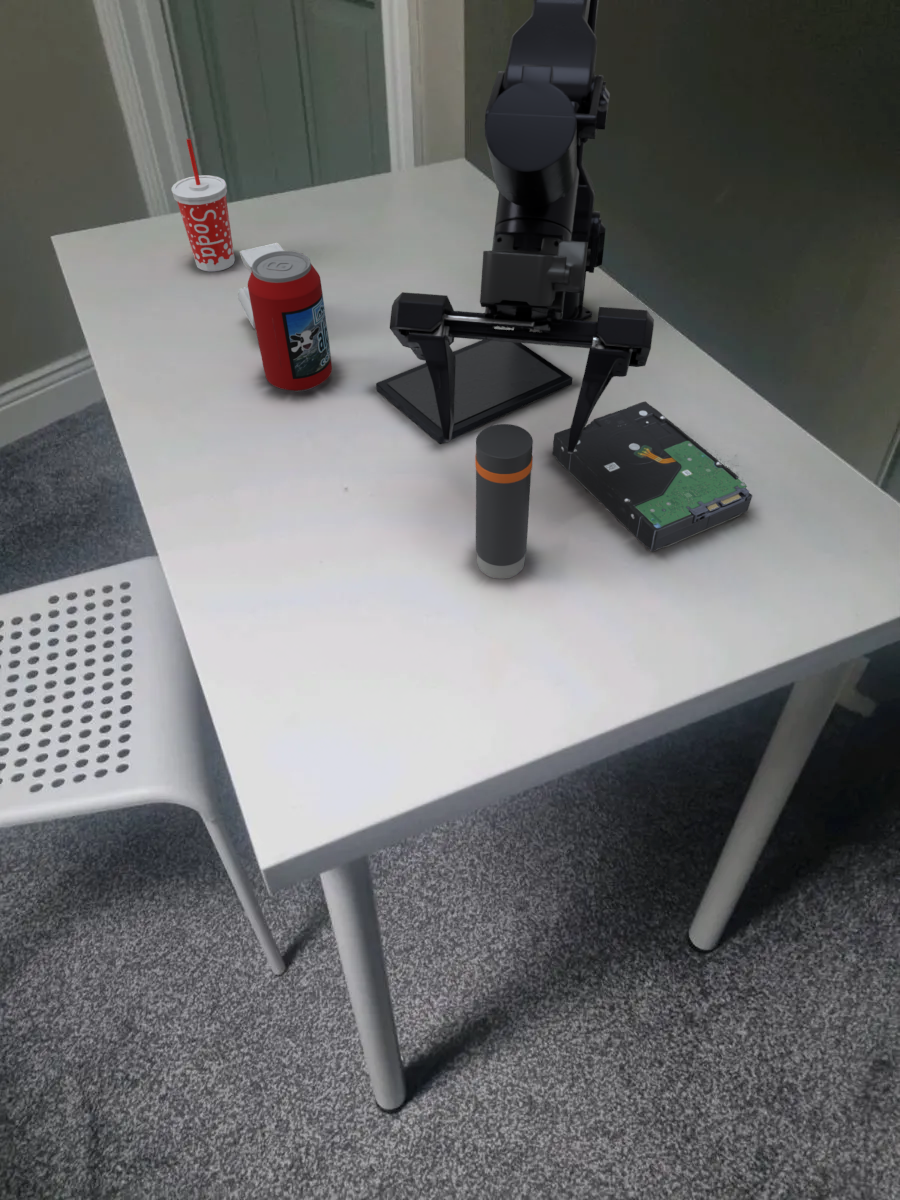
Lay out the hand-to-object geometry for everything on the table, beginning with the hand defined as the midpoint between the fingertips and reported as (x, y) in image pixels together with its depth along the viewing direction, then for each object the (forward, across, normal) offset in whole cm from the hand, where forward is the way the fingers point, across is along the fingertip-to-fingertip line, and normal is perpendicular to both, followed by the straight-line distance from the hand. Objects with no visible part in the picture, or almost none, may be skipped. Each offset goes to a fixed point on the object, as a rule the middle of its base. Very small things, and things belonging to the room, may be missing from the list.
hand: (508, 446), depth 66 cm
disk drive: (0, +11, +13) cm, 17 cm away
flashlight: (+8, 0, +5) cm, 10 cm away
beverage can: (-8, -24, +21) cm, 33 cm away
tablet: (-8, -6, +22) cm, 24 cm away
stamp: (-14, -29, +28) cm, 42 cm away
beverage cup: (-24, -41, +37) cm, 60 cm away
